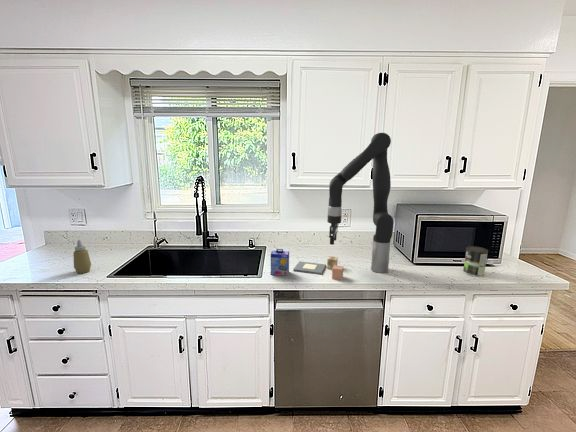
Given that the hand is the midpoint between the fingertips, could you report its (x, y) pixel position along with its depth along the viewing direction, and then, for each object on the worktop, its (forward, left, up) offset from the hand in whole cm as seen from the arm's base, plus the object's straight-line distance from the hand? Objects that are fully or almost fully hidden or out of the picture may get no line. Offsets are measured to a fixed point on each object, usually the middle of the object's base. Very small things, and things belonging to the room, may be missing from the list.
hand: (333, 242), depth 176 cm
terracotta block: (-5, +13, -15) cm, 21 cm away
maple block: (0, 0, -15) cm, 15 cm away
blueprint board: (+12, +5, -15) cm, 20 cm away
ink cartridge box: (+26, +17, -16) cm, 35 cm away
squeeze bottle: (+129, +49, -16) cm, 139 cm away
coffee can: (-76, -17, -16) cm, 79 cm away
